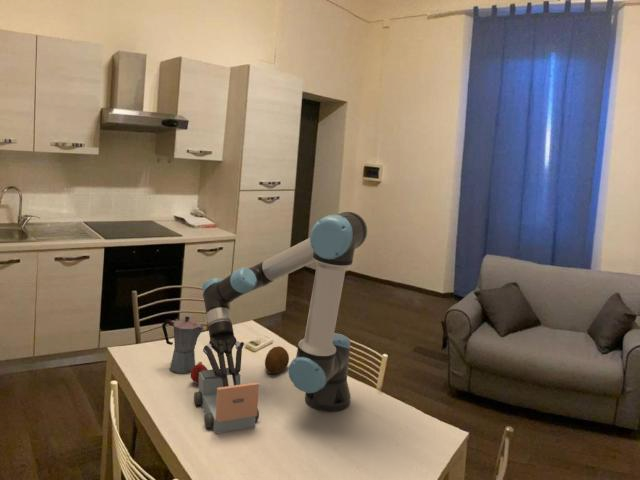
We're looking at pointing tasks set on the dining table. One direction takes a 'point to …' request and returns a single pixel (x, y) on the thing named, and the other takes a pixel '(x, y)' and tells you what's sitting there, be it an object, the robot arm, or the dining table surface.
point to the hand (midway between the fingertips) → (232, 397)
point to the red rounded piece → (197, 371)
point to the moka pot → (183, 343)
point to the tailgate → (237, 402)
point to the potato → (276, 360)
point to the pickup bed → (208, 401)
